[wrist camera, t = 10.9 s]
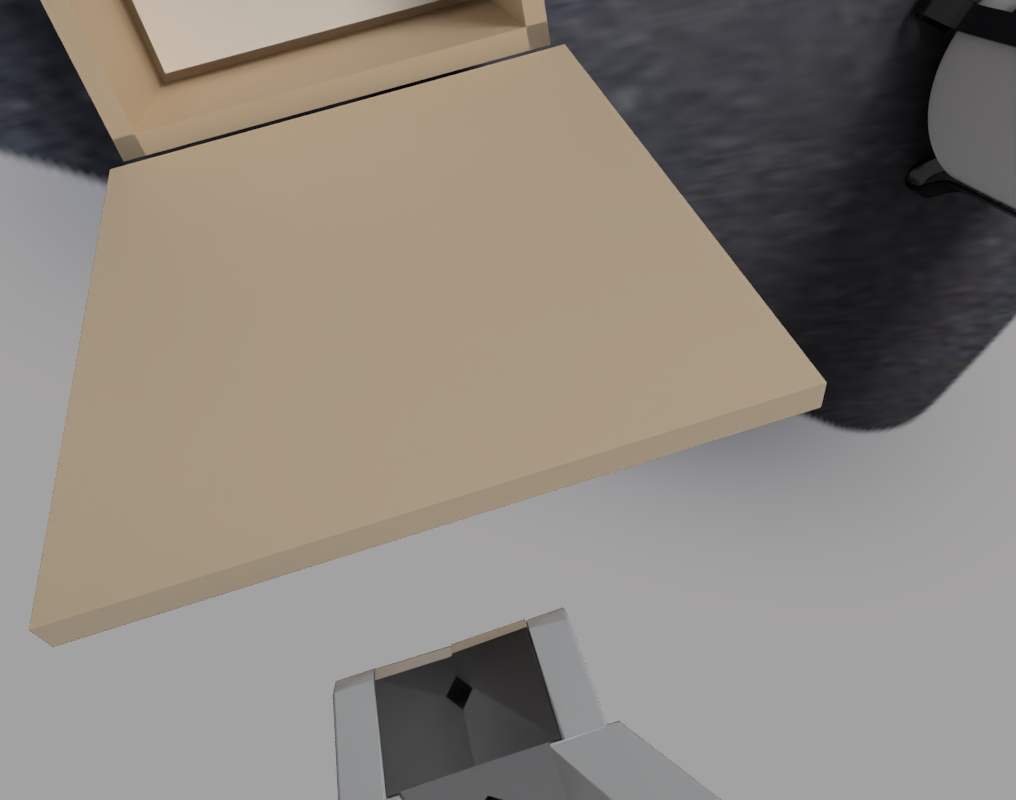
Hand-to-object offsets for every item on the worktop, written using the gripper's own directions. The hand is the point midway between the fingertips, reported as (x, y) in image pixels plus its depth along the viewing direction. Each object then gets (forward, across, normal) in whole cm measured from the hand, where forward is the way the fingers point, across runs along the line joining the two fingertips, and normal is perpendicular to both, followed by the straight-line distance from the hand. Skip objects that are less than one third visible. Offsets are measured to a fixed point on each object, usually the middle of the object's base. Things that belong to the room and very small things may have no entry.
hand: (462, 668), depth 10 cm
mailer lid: (+14, 0, +1) cm, 14 cm away
